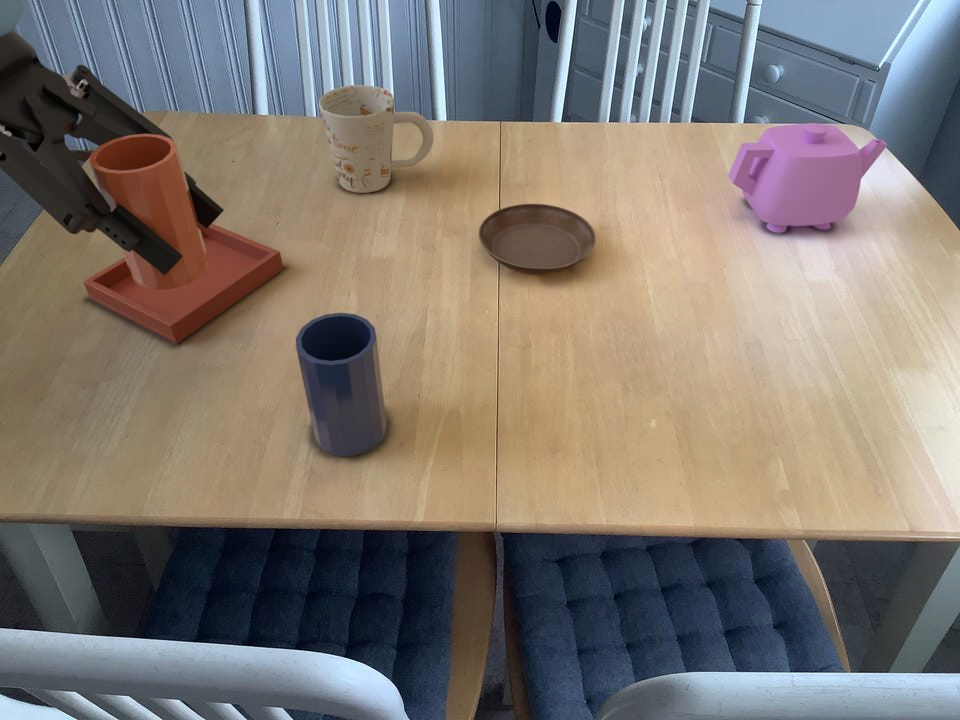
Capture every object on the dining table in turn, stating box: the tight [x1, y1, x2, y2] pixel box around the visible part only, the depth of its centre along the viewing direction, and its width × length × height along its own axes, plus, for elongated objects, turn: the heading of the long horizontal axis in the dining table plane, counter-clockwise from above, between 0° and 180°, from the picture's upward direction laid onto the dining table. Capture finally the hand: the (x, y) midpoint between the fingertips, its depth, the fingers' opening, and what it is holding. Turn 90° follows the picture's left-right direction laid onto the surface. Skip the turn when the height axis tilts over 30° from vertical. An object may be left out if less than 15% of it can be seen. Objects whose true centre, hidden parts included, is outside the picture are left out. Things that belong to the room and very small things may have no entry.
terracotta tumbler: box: [88, 134, 208, 290], centre depth 70 cm, size 7×7×12 cm
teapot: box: [727, 122, 888, 234], centre depth 102 cm, size 20×12×13 cm, turn 97°
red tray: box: [82, 222, 284, 345], centre depth 94 cm, size 17×15×3 cm
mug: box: [318, 84, 434, 194], centre depth 109 cm, size 10×15×12 cm, turn 101°
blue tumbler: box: [295, 312, 387, 457], centre depth 73 cm, size 7×7×12 cm
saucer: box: [478, 203, 597, 276], centre depth 99 cm, size 15×15×3 cm
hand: (195, 241), depth 71 cm, fingers closed on terracotta tumbler, 7 cm apart
